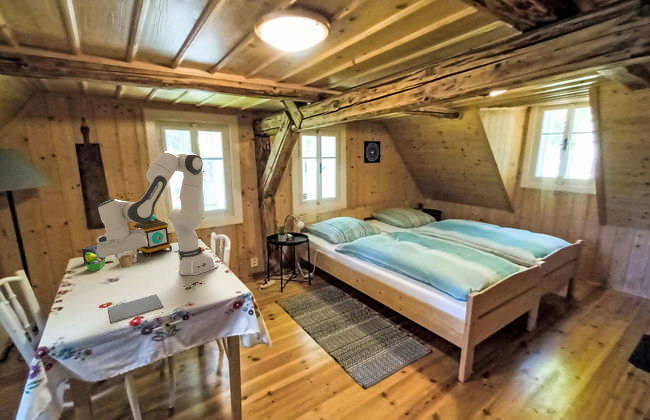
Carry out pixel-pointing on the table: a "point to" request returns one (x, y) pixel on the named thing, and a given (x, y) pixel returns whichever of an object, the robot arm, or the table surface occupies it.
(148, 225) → the decorative lantern
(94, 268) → the fruit basket
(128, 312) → the slate mat
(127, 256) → the oak post
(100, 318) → the table surface
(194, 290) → the table surface
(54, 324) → the table surface
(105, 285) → the table surface
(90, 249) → the small box
